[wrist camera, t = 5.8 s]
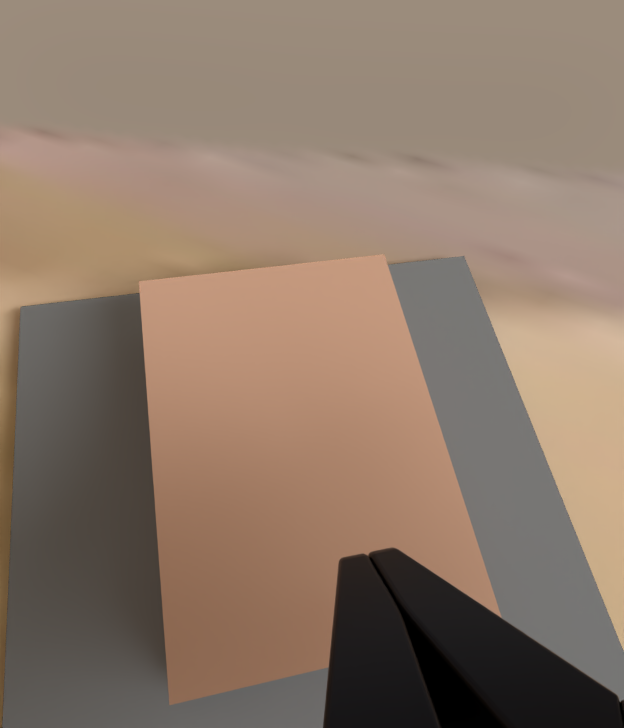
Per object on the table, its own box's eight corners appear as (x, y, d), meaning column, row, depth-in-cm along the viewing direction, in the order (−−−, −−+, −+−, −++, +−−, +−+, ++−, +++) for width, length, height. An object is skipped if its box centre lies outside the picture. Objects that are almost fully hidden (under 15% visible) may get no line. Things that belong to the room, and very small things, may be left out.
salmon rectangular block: (504, 625, 11) (384, 254, 16) (169, 705, 10) (139, 281, 15) (463, 627, 14) (368, 303, 18) (186, 693, 13) (155, 330, 17)
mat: (759, 1031, 11) (784, 1050, 11) (-9, 1343, 9) (-27, 1389, 8) (458, 266, 20) (464, 256, 19) (27, 316, 17) (20, 306, 17)
